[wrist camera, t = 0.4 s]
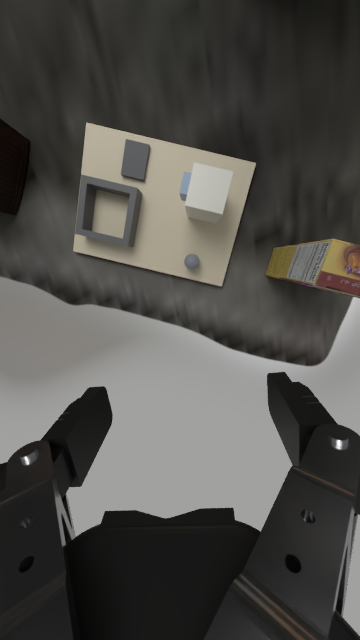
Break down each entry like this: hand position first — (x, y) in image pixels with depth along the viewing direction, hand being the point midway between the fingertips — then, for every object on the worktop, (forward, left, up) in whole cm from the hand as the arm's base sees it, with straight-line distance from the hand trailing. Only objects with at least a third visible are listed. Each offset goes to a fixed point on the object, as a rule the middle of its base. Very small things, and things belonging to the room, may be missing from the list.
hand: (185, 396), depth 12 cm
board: (-11, -7, -26) cm, 29 cm away
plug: (-13, -1, -25) cm, 28 cm away
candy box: (-8, +14, -26) cm, 30 cm away
